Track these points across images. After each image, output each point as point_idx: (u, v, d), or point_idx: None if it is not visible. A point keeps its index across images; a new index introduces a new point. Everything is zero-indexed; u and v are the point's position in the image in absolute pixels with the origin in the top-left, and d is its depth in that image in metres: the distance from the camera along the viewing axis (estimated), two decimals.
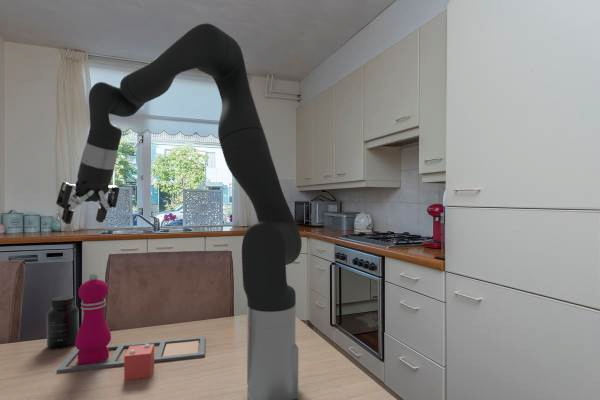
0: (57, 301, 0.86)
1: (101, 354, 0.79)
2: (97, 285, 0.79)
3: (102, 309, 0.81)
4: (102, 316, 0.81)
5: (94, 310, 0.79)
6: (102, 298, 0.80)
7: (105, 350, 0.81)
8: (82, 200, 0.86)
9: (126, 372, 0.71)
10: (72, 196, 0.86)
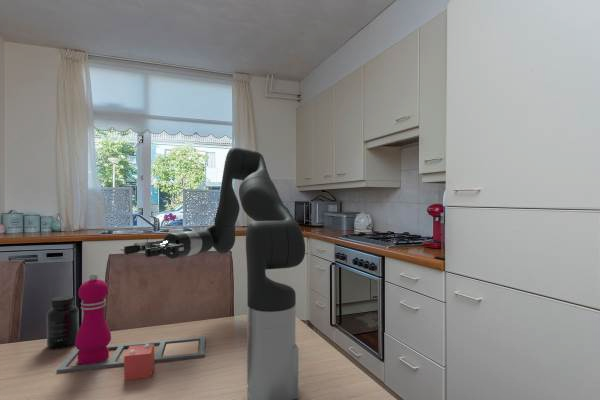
0: (57, 301, 0.86)
1: (101, 354, 0.79)
2: (97, 285, 0.79)
3: (102, 309, 0.81)
4: (102, 316, 0.81)
5: (94, 310, 0.79)
6: (102, 298, 0.80)
7: (105, 350, 0.81)
8: (149, 241, 0.98)
9: (126, 372, 0.71)
10: None
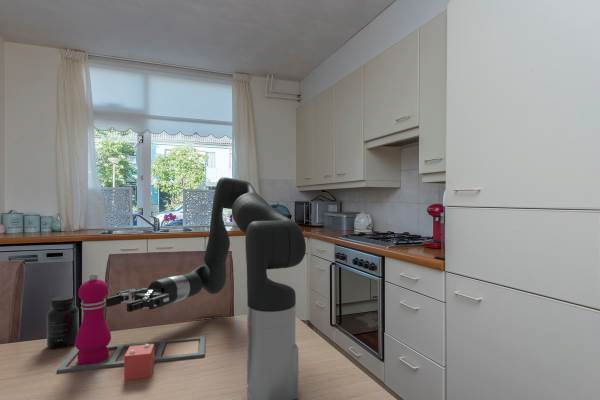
0: (57, 301, 0.86)
1: (101, 354, 0.79)
2: (97, 285, 0.79)
3: (102, 309, 0.81)
4: (102, 316, 0.81)
5: (94, 310, 0.79)
6: (102, 298, 0.80)
7: (105, 350, 0.81)
8: (133, 290, 0.93)
9: (126, 372, 0.71)
10: None
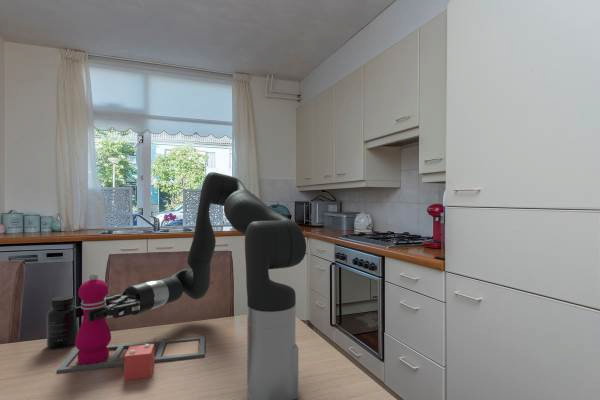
0: (57, 301, 0.86)
1: (101, 354, 0.79)
2: (97, 285, 0.79)
3: None
4: None
5: None
6: (102, 298, 0.80)
7: (105, 350, 0.81)
8: (106, 298, 0.86)
9: (126, 372, 0.71)
10: None
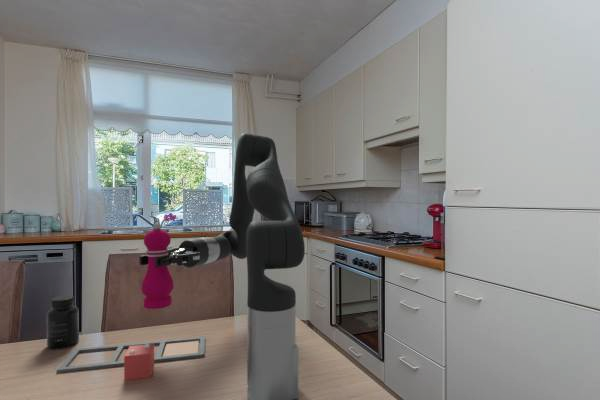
0: (57, 301, 0.86)
1: (166, 300, 0.83)
2: (162, 233, 0.82)
3: None
4: None
5: None
6: (166, 247, 0.84)
7: (169, 297, 0.84)
8: None
9: (126, 372, 0.71)
10: None
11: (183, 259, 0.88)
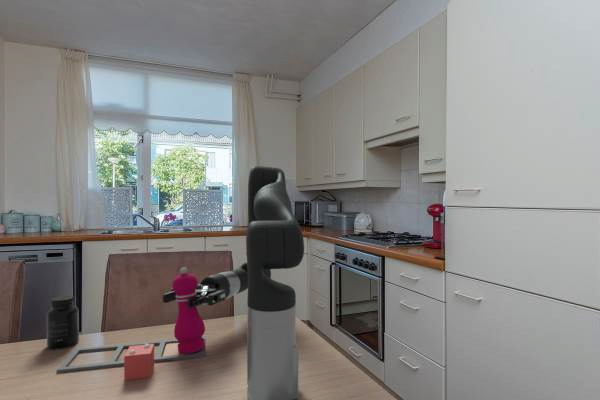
0: (57, 301, 0.86)
1: (200, 343, 0.83)
2: (189, 277, 0.84)
3: None
4: (195, 307, 0.85)
5: None
6: (194, 290, 0.85)
7: (202, 339, 0.85)
8: None
9: (126, 372, 0.71)
10: None
11: None
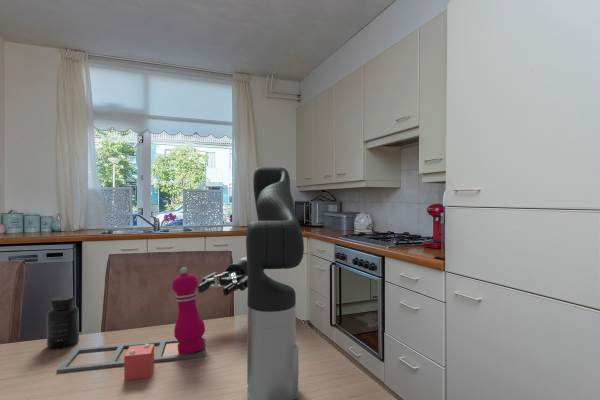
0: (57, 301, 0.86)
1: (200, 343, 0.83)
2: (189, 277, 0.84)
3: (195, 300, 0.85)
4: (195, 307, 0.85)
5: (189, 301, 0.84)
6: (194, 290, 0.85)
7: (202, 339, 0.85)
8: (217, 275, 1.02)
9: (126, 372, 0.71)
10: None
11: (238, 282, 1.01)
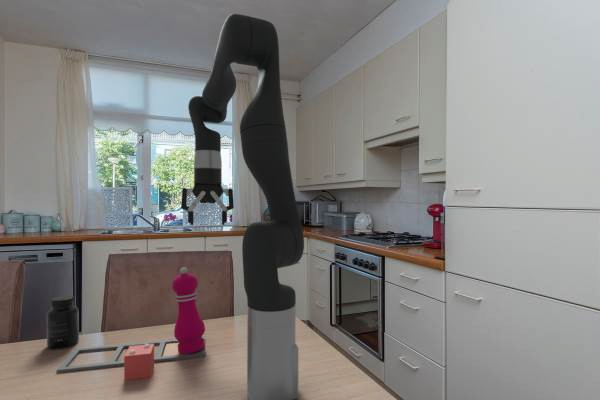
0: (57, 301, 0.86)
1: (200, 343, 0.83)
2: (189, 277, 0.84)
3: (195, 300, 0.85)
4: (195, 307, 0.85)
5: (189, 301, 0.84)
6: (194, 290, 0.85)
7: (202, 339, 0.85)
8: (197, 201, 0.96)
9: (126, 372, 0.71)
10: None
11: None
